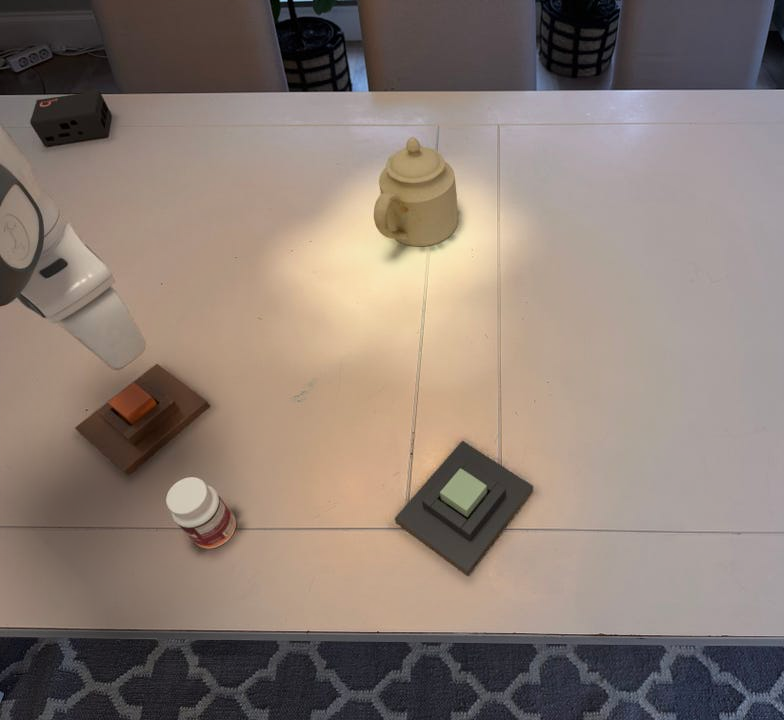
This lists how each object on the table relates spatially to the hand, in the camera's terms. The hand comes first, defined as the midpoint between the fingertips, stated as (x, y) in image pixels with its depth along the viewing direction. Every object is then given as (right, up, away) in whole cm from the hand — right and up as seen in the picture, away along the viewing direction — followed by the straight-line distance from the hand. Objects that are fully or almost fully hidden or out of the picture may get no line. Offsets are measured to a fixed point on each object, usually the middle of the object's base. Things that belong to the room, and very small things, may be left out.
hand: (99, 345), depth 71 cm
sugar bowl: (+31, +18, +31) cm, 48 cm away
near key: (+39, -16, +1) cm, 42 cm away
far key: (-1, -7, +10) cm, 12 cm away
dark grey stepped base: (+39, -18, +3) cm, 43 cm away
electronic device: (-32, +40, +50) cm, 72 cm away
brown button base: (-1, -9, +12) cm, 15 cm away
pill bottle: (+11, -20, +3) cm, 23 cm away
